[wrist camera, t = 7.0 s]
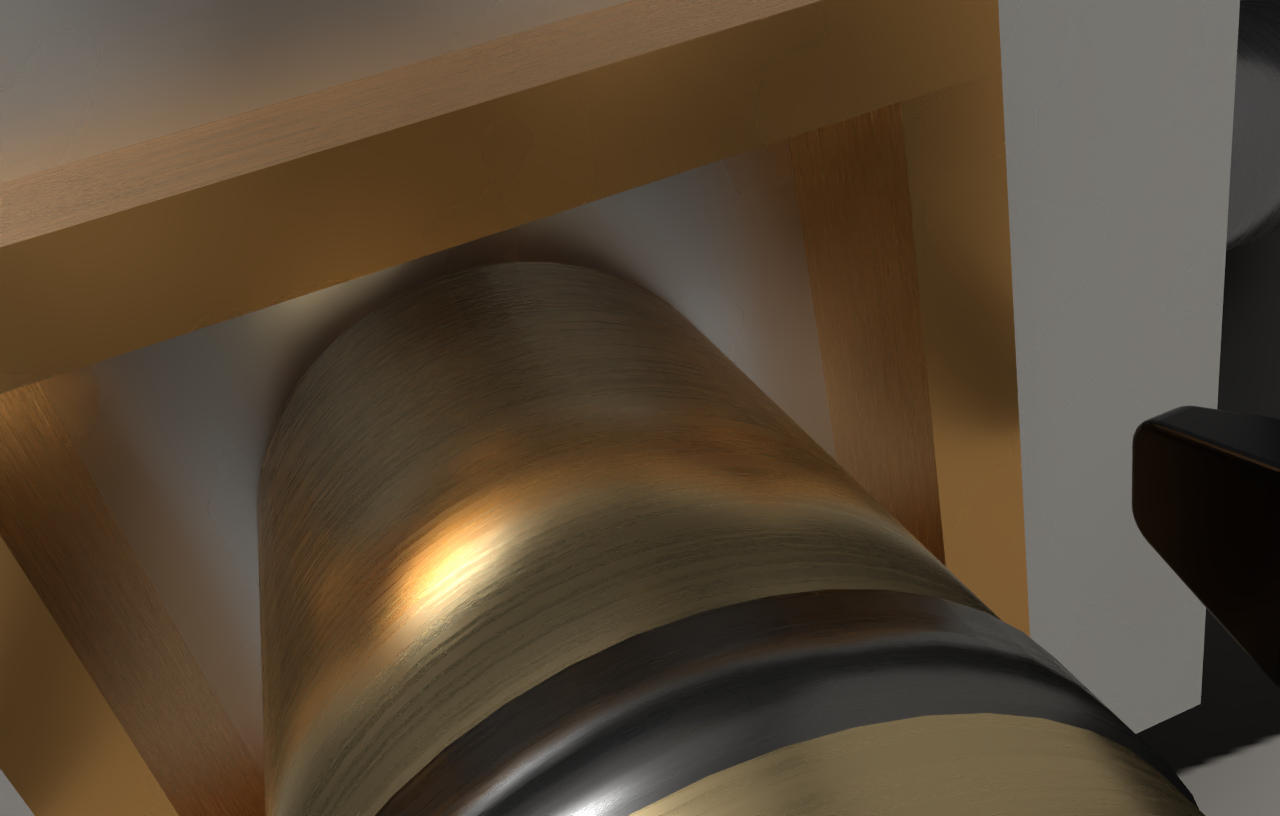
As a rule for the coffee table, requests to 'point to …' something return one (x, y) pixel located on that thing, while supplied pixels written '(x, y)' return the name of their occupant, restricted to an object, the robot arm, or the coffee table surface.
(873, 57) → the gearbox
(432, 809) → the brass can
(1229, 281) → the coffee table surface
